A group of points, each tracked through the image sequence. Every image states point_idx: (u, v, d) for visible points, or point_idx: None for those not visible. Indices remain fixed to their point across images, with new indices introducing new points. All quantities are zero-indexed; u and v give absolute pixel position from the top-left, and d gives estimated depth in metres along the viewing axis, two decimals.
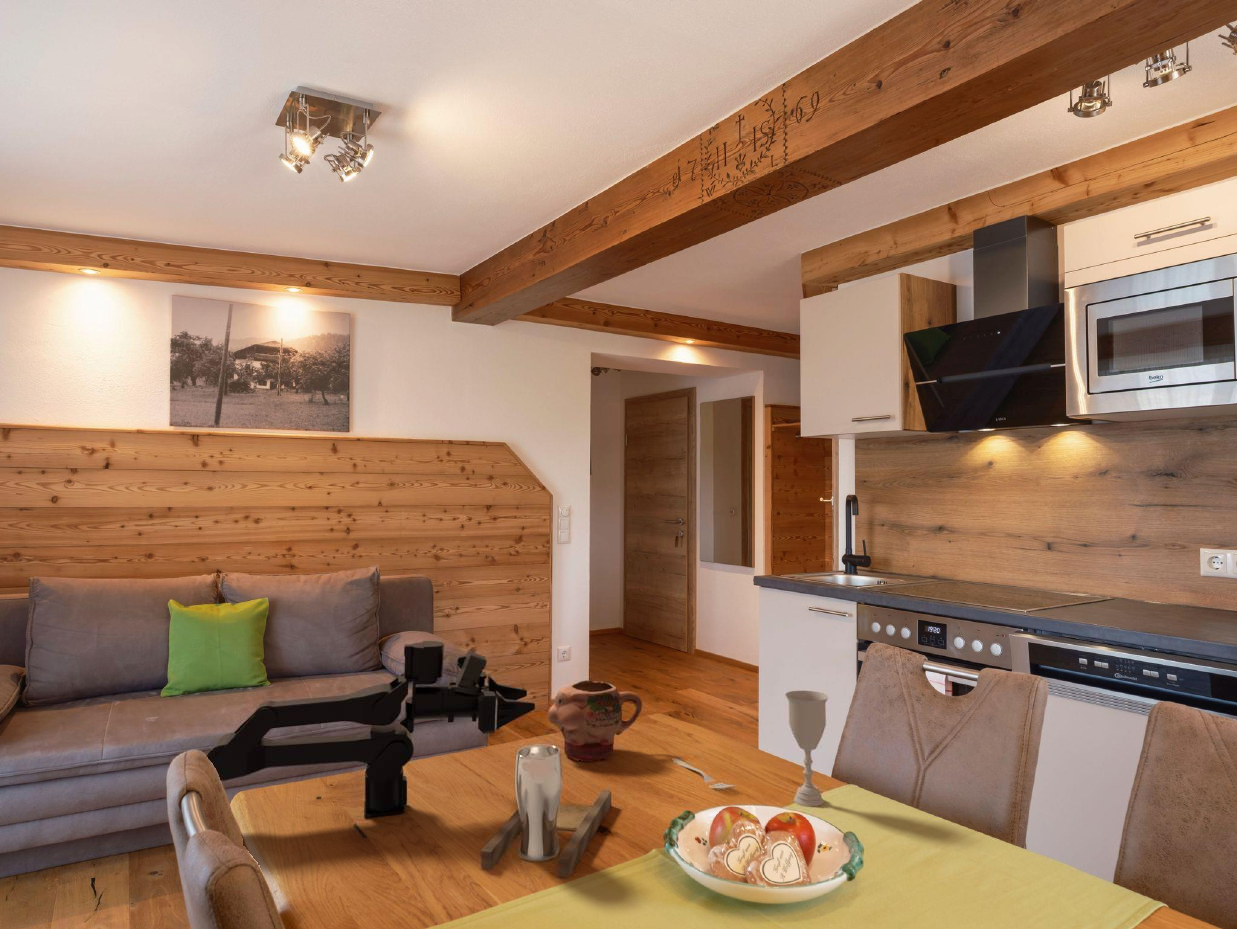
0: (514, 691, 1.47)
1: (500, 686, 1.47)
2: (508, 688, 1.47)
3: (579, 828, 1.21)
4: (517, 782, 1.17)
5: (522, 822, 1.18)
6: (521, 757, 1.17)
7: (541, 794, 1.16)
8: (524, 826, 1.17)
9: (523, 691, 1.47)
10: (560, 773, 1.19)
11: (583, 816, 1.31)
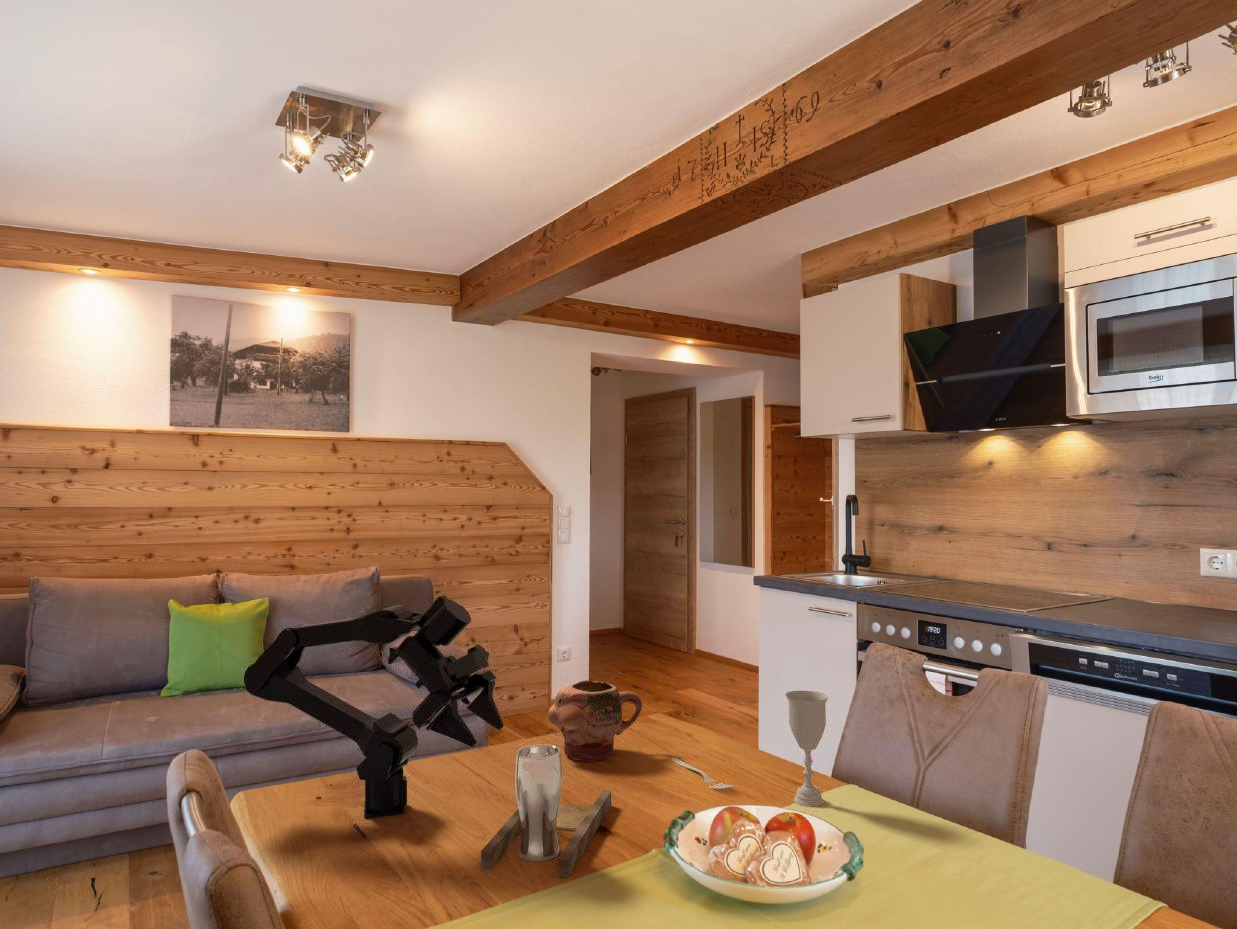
0: (494, 716, 1.36)
1: (488, 700, 1.37)
2: (492, 709, 1.36)
3: (579, 828, 1.21)
4: (517, 782, 1.17)
5: (522, 822, 1.18)
6: (521, 757, 1.17)
7: (541, 794, 1.16)
8: (524, 826, 1.17)
9: (499, 724, 1.35)
10: (560, 773, 1.19)
11: (583, 816, 1.31)
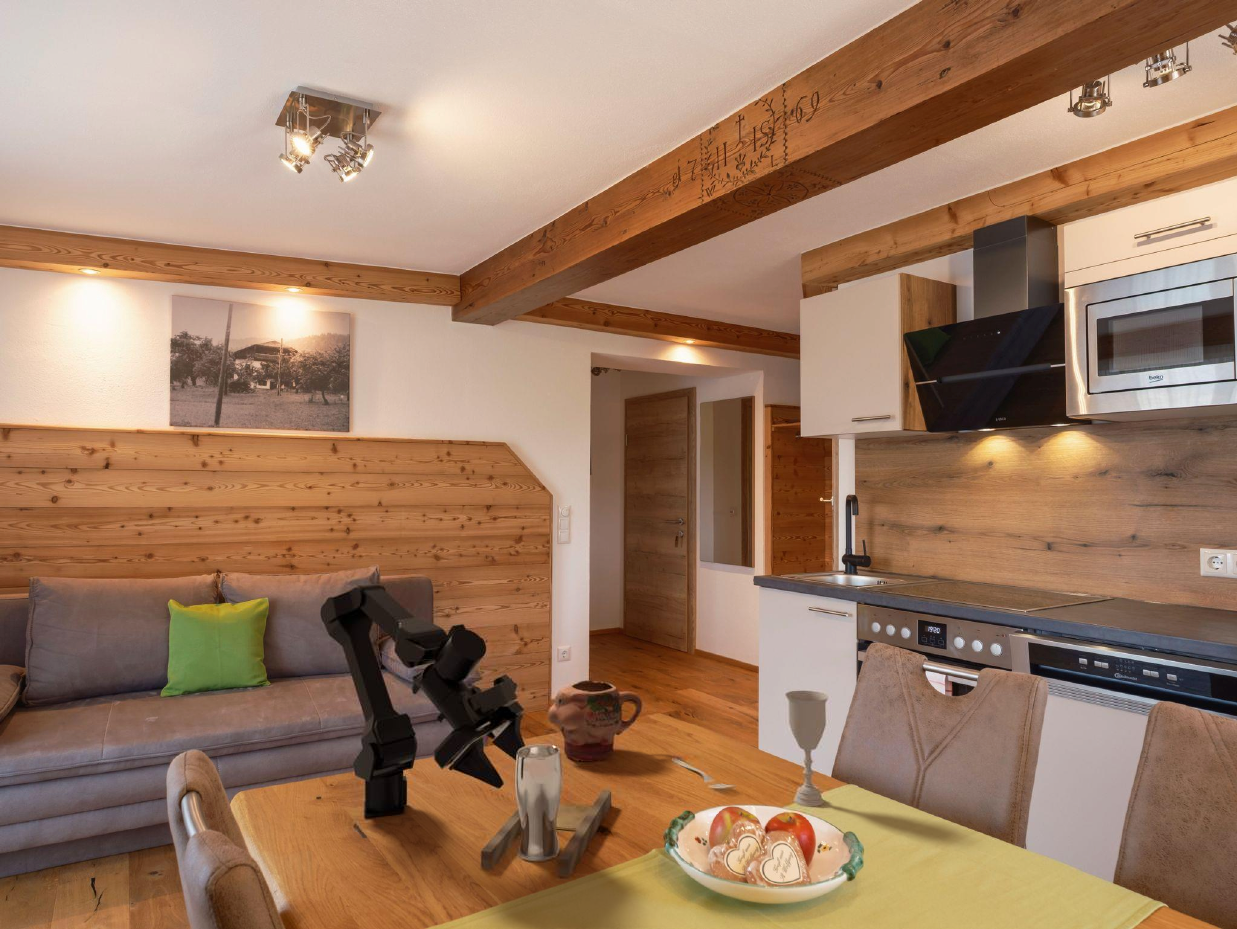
0: None
1: (515, 735, 1.26)
2: (519, 744, 1.26)
3: (579, 828, 1.21)
4: (517, 782, 1.17)
5: (522, 822, 1.18)
6: (521, 757, 1.17)
7: (541, 794, 1.16)
8: (524, 826, 1.17)
9: None
10: (560, 773, 1.19)
11: (583, 816, 1.31)
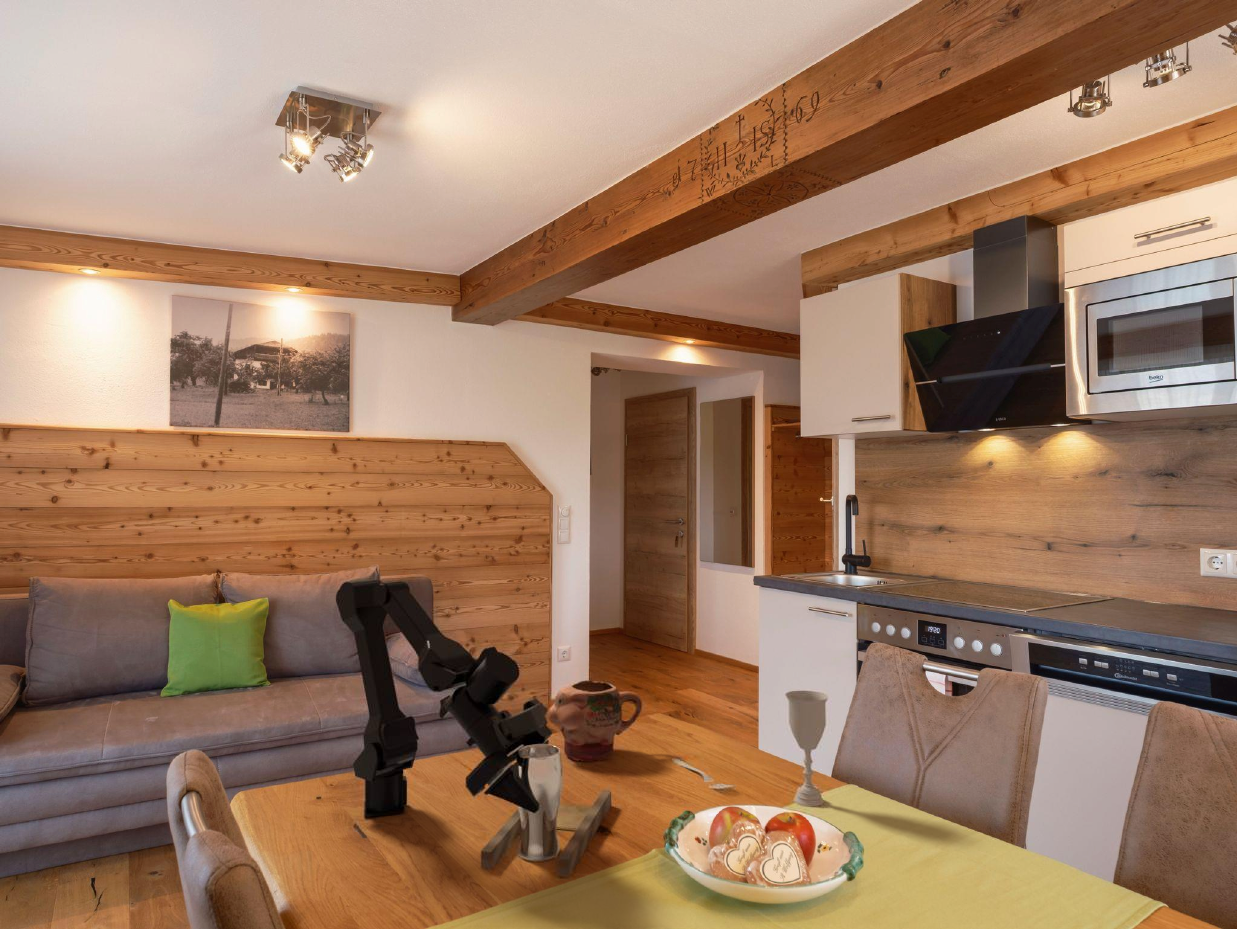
0: None
1: None
2: None
3: (579, 828, 1.21)
4: None
5: (522, 822, 1.18)
6: (521, 757, 1.17)
7: (541, 794, 1.16)
8: (524, 826, 1.17)
9: None
10: (560, 773, 1.19)
11: (583, 816, 1.31)
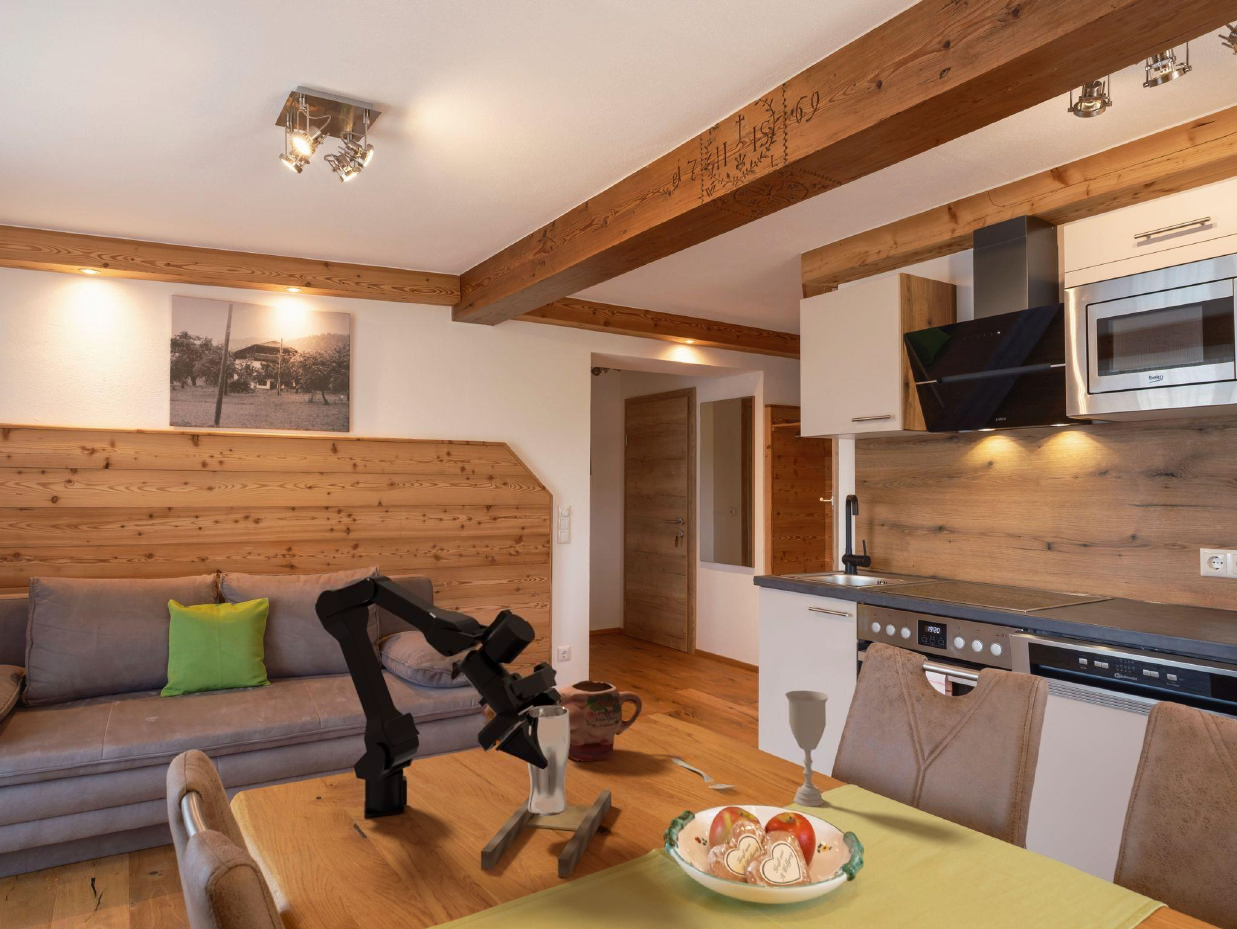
0: None
1: None
2: None
3: (579, 828, 1.21)
4: None
5: (531, 778, 1.23)
6: (531, 716, 1.22)
7: (550, 751, 1.21)
8: (533, 782, 1.22)
9: None
10: (568, 732, 1.23)
11: (583, 816, 1.31)
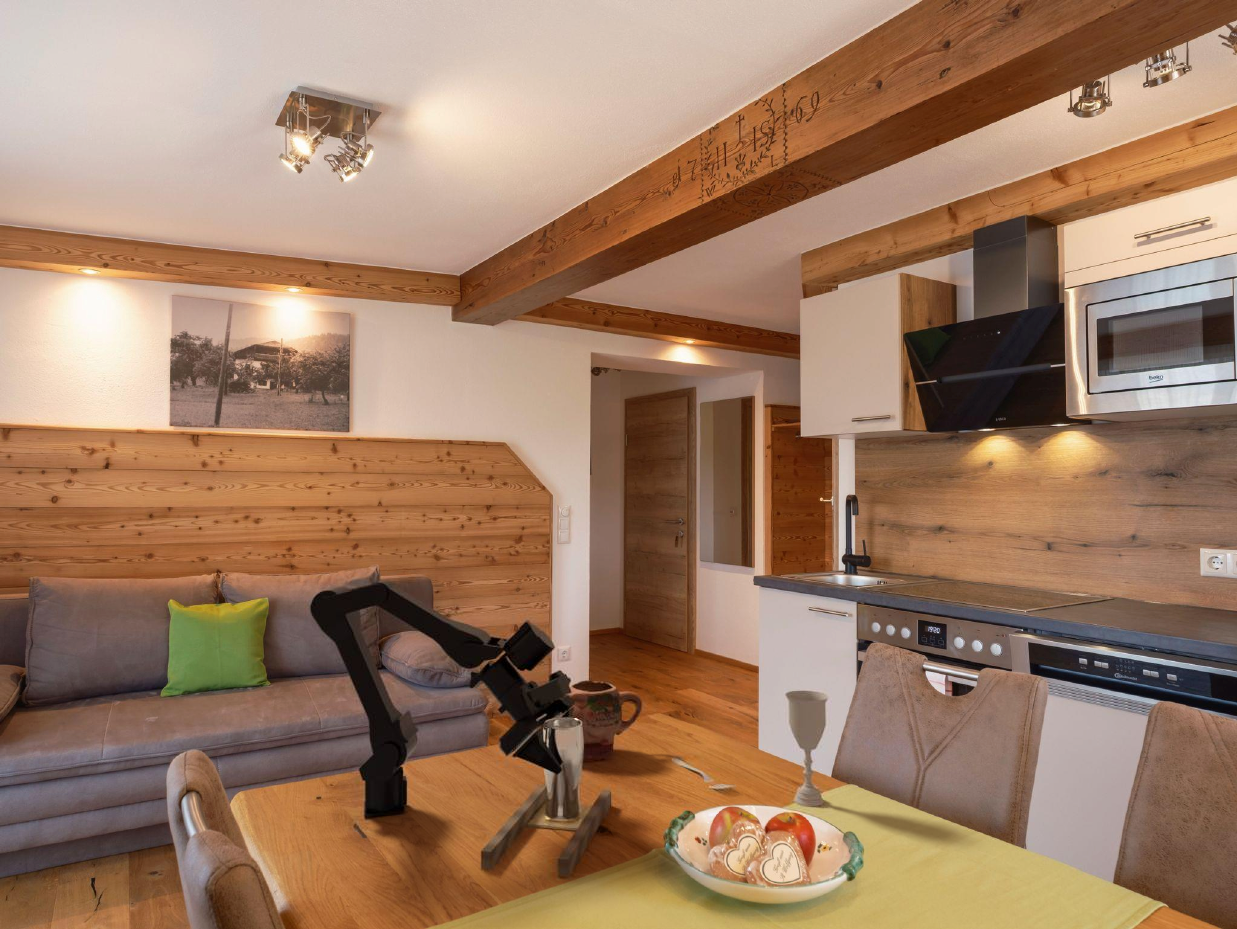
0: None
1: None
2: None
3: (579, 828, 1.21)
4: None
5: (548, 786, 1.30)
6: (547, 728, 1.30)
7: (565, 761, 1.29)
8: (550, 790, 1.30)
9: None
10: (582, 743, 1.31)
11: (583, 816, 1.31)
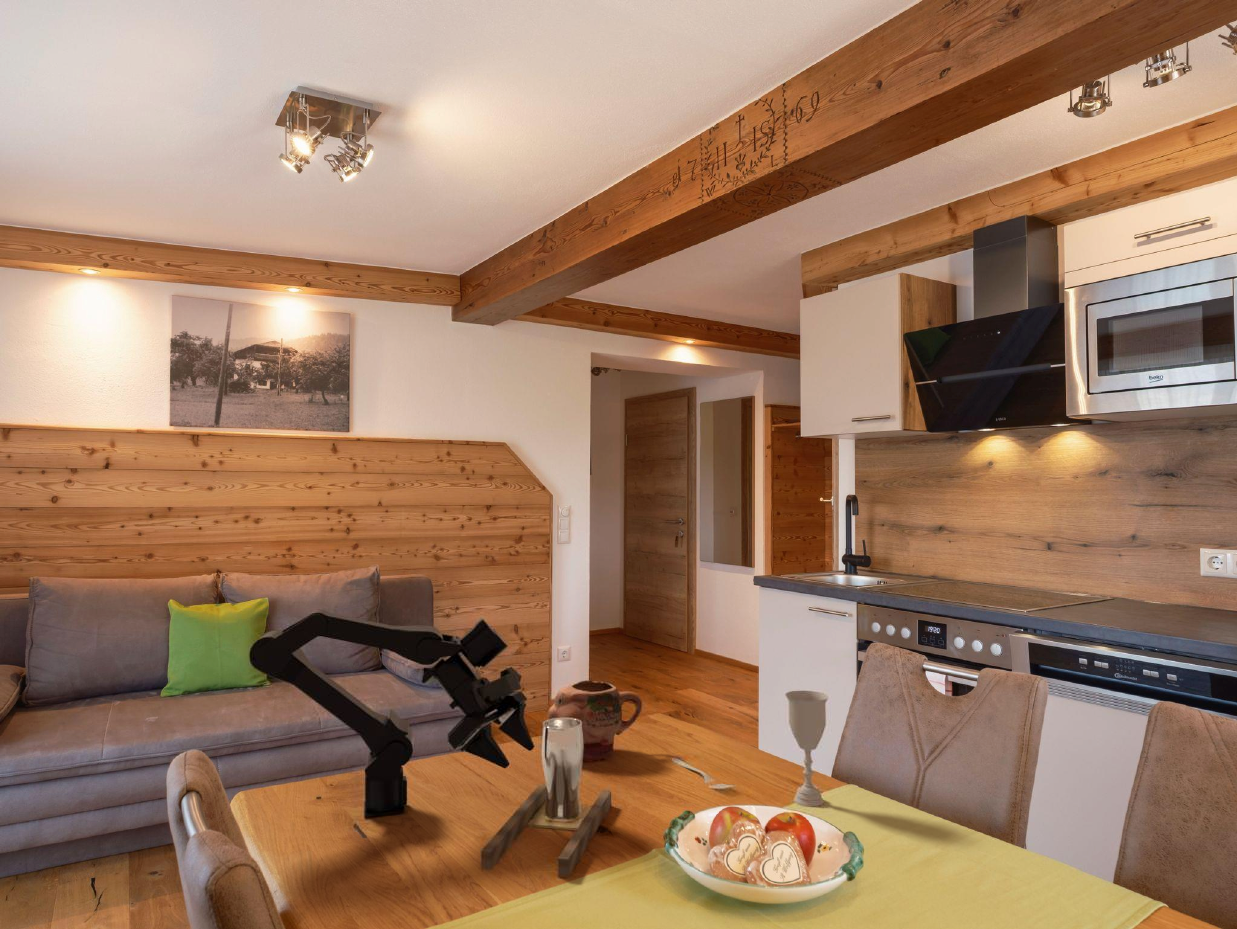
0: (525, 737, 1.39)
1: (520, 722, 1.40)
2: (523, 730, 1.40)
3: (579, 828, 1.21)
4: (544, 751, 1.30)
5: (548, 786, 1.30)
6: (547, 728, 1.30)
7: (565, 761, 1.29)
8: (550, 790, 1.30)
9: (530, 745, 1.39)
10: (582, 743, 1.31)
11: (583, 816, 1.31)
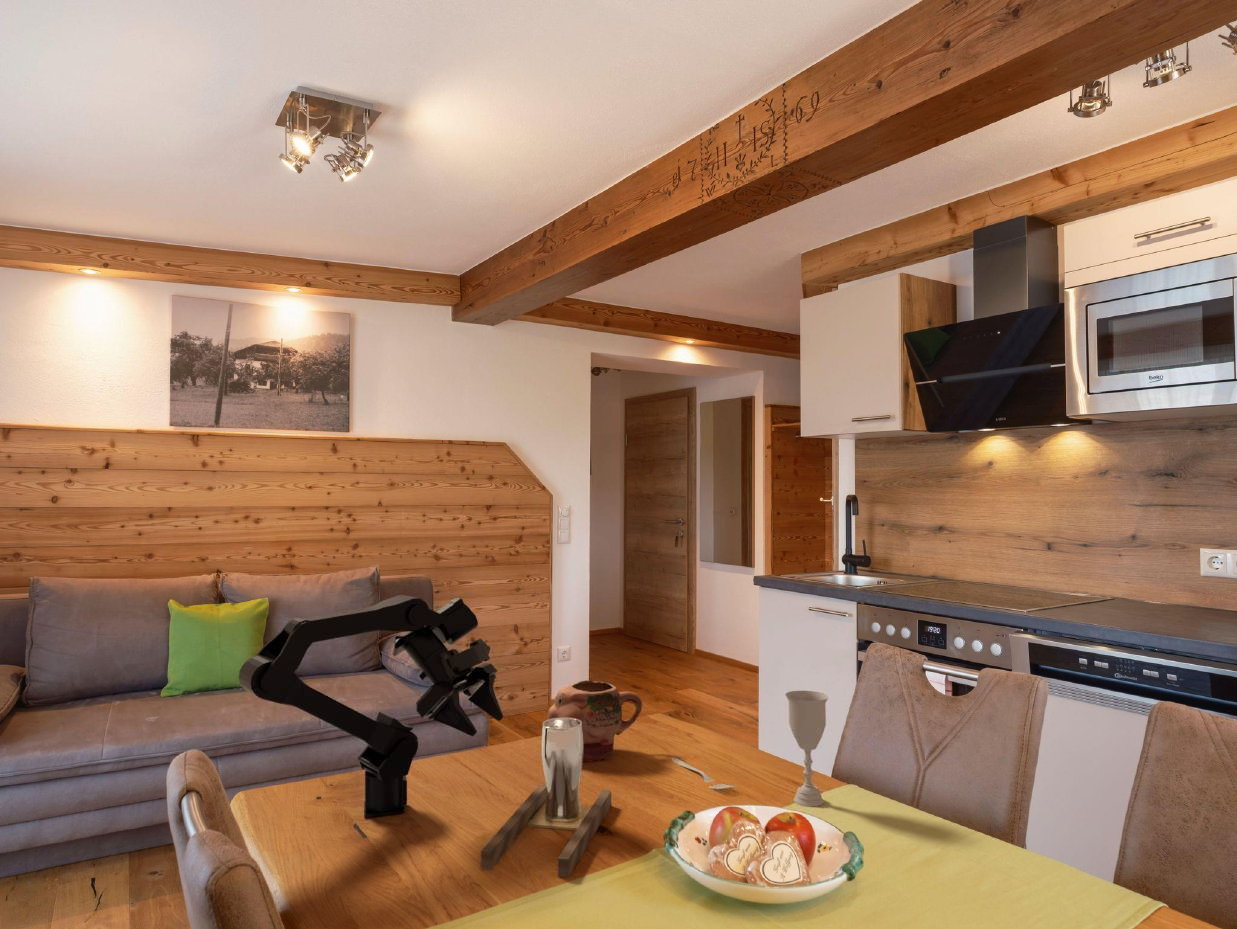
0: (494, 707, 1.42)
1: (489, 692, 1.43)
2: (492, 700, 1.42)
3: (579, 828, 1.21)
4: (544, 751, 1.30)
5: (548, 786, 1.30)
6: (547, 728, 1.30)
7: (565, 761, 1.29)
8: (550, 790, 1.30)
9: (499, 715, 1.41)
10: (582, 743, 1.31)
11: (583, 816, 1.31)
